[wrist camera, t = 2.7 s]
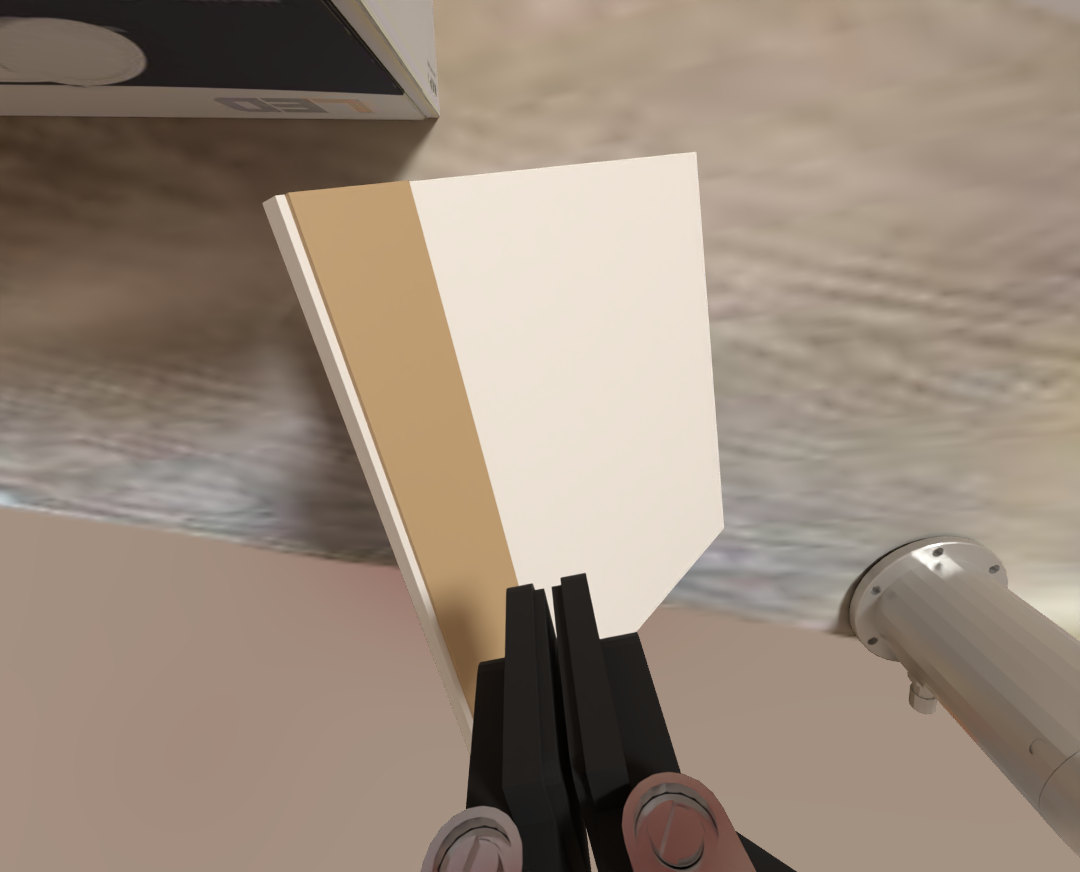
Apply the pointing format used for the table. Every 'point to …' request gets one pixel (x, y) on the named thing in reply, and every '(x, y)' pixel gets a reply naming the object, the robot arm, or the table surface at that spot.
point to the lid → (519, 384)
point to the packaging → (219, 59)
